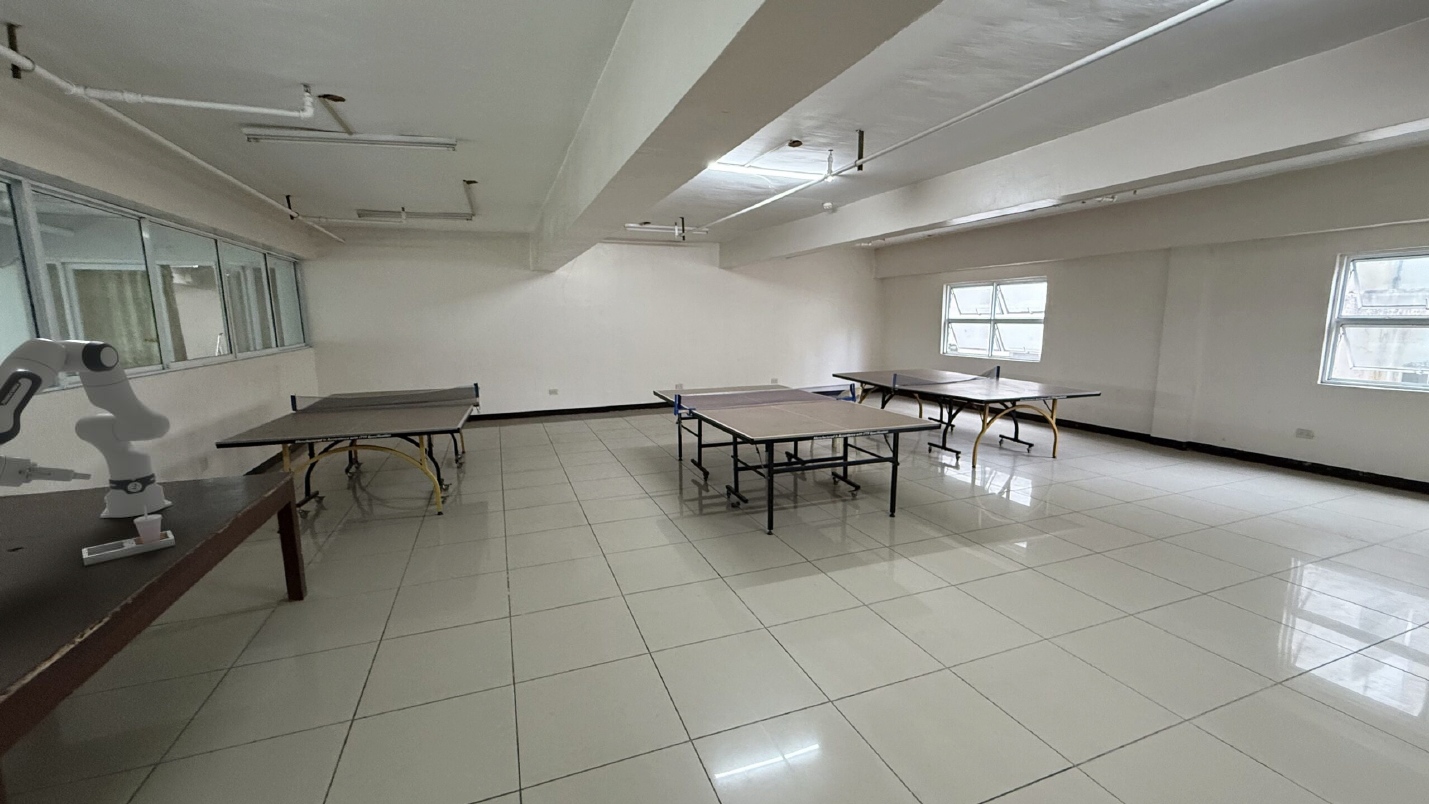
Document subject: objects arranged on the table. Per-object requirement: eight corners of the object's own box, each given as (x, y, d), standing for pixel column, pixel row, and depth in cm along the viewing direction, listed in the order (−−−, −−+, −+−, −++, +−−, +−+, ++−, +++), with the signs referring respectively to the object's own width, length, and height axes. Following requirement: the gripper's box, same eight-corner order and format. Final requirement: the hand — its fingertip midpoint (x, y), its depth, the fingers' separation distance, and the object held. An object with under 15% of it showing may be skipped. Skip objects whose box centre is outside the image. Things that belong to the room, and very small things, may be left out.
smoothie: (132, 550, 170) (125, 509, 168) (147, 542, 177) (141, 502, 174) (157, 548, 172) (150, 508, 170) (170, 540, 178) (164, 501, 176)
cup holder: (83, 556, 166) (81, 548, 166) (171, 537, 182) (170, 530, 181) (84, 565, 160) (83, 558, 160) (175, 545, 176) (174, 538, 175)
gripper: (30, 461, 150) (100, 467, 162) (6, 460, 159) (74, 465, 171) (22, 483, 149) (93, 487, 161) (-2, 481, 157) (68, 485, 169)
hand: (83, 476), depth 166 cm, fingers open, 8 cm apart
